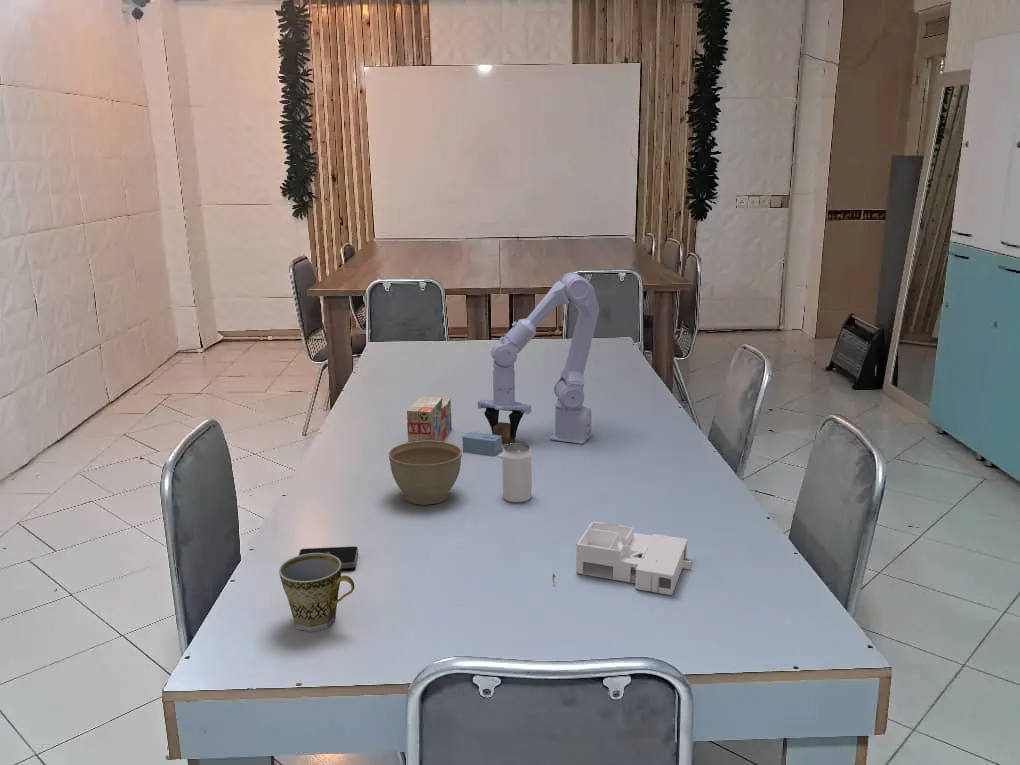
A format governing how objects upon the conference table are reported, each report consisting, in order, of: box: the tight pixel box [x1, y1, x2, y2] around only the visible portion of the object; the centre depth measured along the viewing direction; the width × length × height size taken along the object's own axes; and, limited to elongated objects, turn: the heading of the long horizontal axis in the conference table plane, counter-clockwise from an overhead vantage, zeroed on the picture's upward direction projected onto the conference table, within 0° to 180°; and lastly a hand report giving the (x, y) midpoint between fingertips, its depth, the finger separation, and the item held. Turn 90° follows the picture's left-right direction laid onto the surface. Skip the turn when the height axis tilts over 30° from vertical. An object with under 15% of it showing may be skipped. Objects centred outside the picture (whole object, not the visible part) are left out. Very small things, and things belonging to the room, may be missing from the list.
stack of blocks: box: [406, 396, 453, 443], centre depth 225 cm, size 21×6×12 cm, turn 170°
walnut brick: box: [492, 421, 516, 445], centre depth 226 cm, size 4×4×4 cm
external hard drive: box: [297, 545, 359, 572], centre depth 160 cm, size 7×11×2 cm, turn 95°
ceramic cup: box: [278, 553, 355, 633], centre depth 139 cm, size 13×10×10 cm
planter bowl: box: [388, 441, 463, 506], centre depth 189 cm, size 16×16×11 cm
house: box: [551, 520, 692, 596], centre depth 156 cm, size 22×18×6 cm
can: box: [501, 442, 533, 504], centre depth 188 cm, size 6×6×12 cm
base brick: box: [462, 431, 503, 457], centre depth 219 cm, size 9×4×4 cm, turn 68°
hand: (504, 436), depth 226 cm, fingers closed on walnut brick, 4 cm apart
